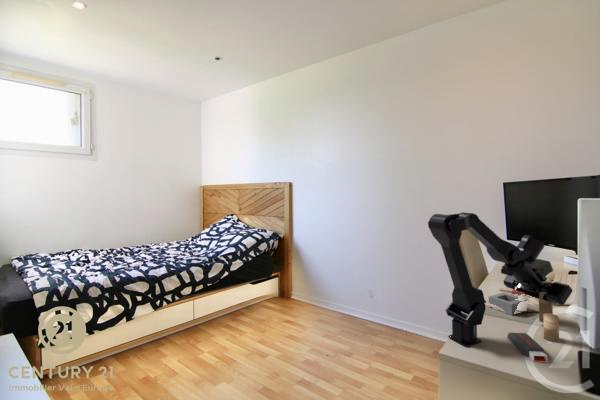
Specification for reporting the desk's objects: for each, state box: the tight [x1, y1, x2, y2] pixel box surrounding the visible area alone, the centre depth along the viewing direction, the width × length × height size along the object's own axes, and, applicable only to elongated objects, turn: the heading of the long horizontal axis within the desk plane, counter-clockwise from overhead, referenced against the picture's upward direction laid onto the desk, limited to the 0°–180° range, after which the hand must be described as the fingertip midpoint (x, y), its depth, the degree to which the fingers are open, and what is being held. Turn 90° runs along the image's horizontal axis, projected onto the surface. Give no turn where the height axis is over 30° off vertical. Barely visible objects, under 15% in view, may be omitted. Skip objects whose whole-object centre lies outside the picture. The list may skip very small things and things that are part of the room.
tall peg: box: [538, 280, 554, 323], centre depth 101 cm, size 4×4×13 cm
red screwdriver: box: [498, 288, 527, 296], centre depth 126 cm, size 4×2×15 cm
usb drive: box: [506, 332, 548, 363], centre depth 86 cm, size 5×12×3 cm, turn 169°
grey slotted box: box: [488, 292, 528, 316], centre depth 112 cm, size 8×8×4 cm
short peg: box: [542, 313, 560, 343], centre depth 90 cm, size 4×4×7 cm
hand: (548, 300), depth 101 cm, fingers open, 4 cm apart
